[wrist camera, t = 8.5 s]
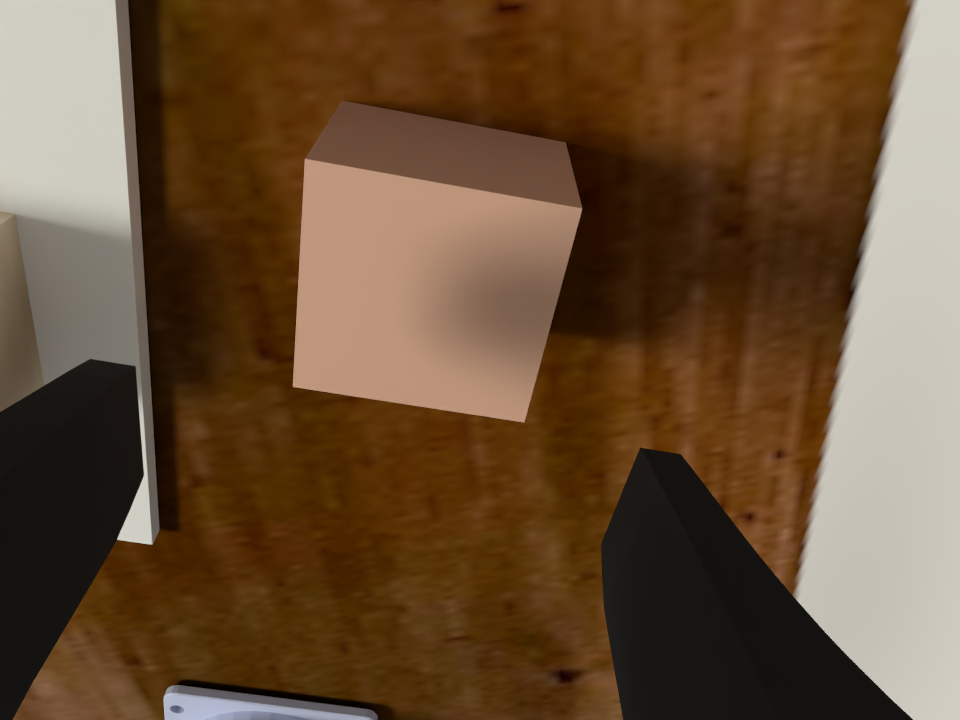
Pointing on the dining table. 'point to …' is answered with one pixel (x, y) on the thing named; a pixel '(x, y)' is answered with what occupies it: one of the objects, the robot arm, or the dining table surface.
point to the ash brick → (15, 321)
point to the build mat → (78, 197)
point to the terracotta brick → (430, 260)
